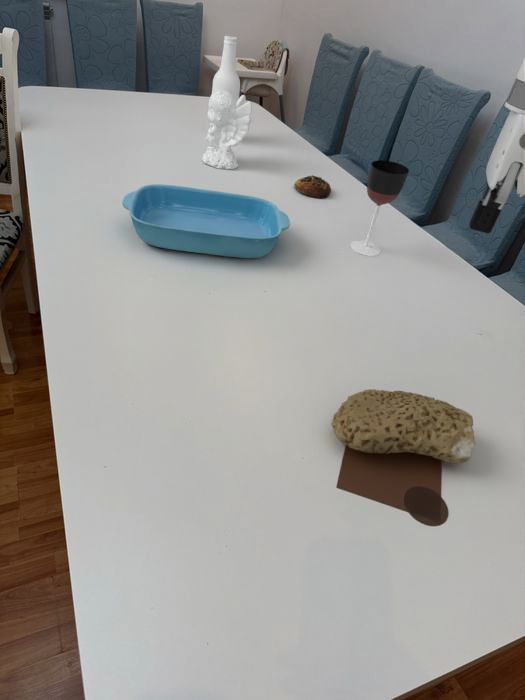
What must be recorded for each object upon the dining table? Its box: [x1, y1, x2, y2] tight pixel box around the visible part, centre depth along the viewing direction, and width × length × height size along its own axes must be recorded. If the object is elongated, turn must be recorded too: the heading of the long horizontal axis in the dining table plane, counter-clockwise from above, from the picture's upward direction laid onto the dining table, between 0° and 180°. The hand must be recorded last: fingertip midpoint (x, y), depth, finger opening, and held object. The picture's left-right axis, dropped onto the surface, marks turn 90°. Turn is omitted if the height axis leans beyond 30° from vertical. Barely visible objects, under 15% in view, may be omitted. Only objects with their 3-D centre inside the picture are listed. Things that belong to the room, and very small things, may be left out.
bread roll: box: [293, 174, 332, 199], centre depth 144 cm, size 11×11×5 cm
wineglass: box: [349, 159, 410, 257], centre depth 116 cm, size 8×9×20 cm
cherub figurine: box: [201, 91, 253, 170], centre depth 147 cm, size 13×12×20 cm
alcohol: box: [208, 35, 241, 129], centre depth 160 cm, size 9×9×30 cm
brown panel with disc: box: [335, 444, 449, 527], centre depth 72 cm, size 19×15×1 cm
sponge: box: [330, 388, 475, 464], centre depth 72 cm, size 13×8×20 cm
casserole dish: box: [122, 183, 291, 259], centre depth 112 cm, size 37×22×7 cm, turn 93°
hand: (479, 228), depth 76 cm, fingers closed
